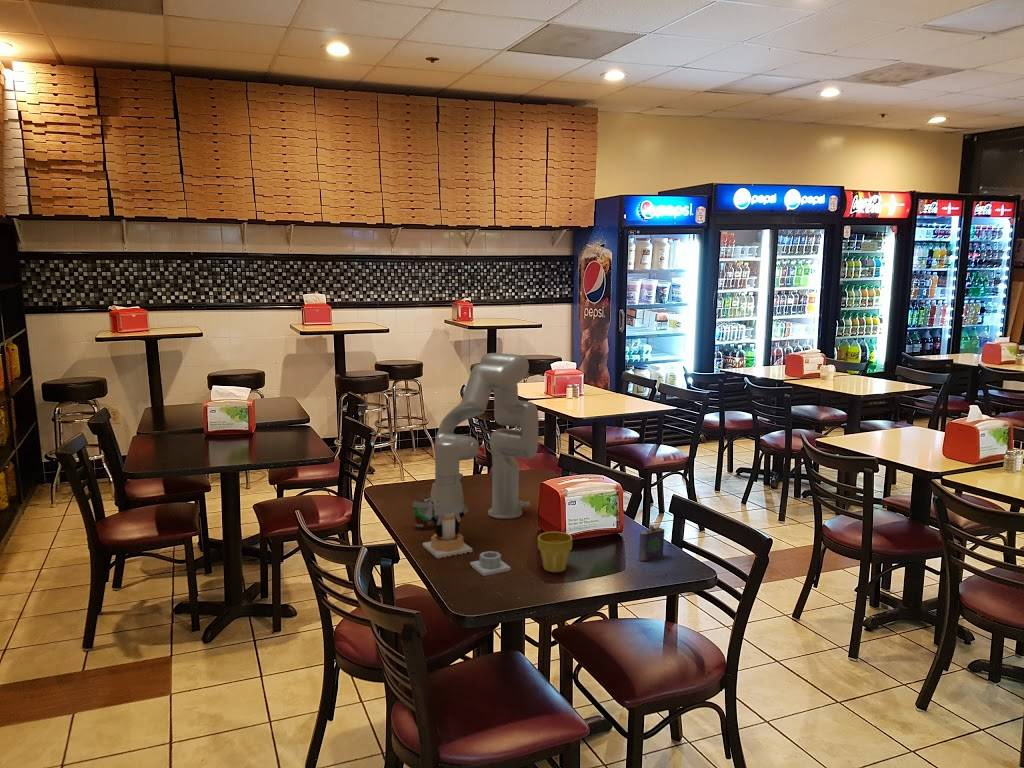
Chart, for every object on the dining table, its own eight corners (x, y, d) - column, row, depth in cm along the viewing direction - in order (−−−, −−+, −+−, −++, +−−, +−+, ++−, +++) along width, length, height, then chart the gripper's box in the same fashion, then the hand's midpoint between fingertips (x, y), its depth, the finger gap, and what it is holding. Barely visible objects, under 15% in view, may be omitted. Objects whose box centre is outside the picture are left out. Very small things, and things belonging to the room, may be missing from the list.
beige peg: (451, 537, 242) (451, 507, 240) (458, 542, 237) (458, 512, 236) (436, 540, 239) (436, 509, 238) (443, 545, 235) (443, 514, 233)
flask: (642, 562, 230) (643, 528, 228) (636, 559, 232) (637, 525, 231) (665, 557, 235) (666, 524, 233) (658, 554, 237) (660, 521, 235)
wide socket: (456, 539, 247) (456, 528, 246) (472, 551, 237) (472, 539, 236) (422, 545, 241) (422, 534, 241) (437, 558, 231) (437, 546, 230)
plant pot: (536, 561, 230) (537, 530, 228) (570, 561, 230) (571, 531, 228) (537, 574, 219) (538, 542, 218) (573, 575, 219) (573, 543, 218)
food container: (425, 533, 253) (425, 504, 252) (412, 529, 257) (412, 500, 255) (450, 523, 263) (450, 496, 261) (437, 519, 266) (437, 492, 265)
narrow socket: (496, 560, 230) (496, 547, 229) (510, 570, 222) (510, 557, 222) (470, 565, 226) (470, 552, 225) (483, 576, 218) (483, 563, 217)
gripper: (466, 472, 243) (466, 526, 245) (417, 479, 235) (417, 535, 237) (476, 478, 236) (476, 534, 239) (426, 485, 228) (426, 542, 231)
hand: (447, 533), depth 238 cm, fingers closed on beige peg, 5 cm apart
